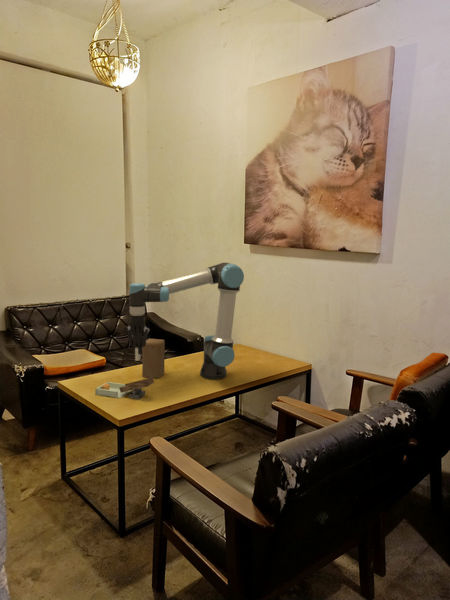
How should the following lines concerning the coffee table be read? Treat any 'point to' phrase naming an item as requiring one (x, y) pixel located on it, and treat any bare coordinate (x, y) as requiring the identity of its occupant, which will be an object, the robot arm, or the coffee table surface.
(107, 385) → the ball
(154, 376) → the wooden block
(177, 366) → the coffee table surface
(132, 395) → the fulcrum
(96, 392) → the tray
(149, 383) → the lever
